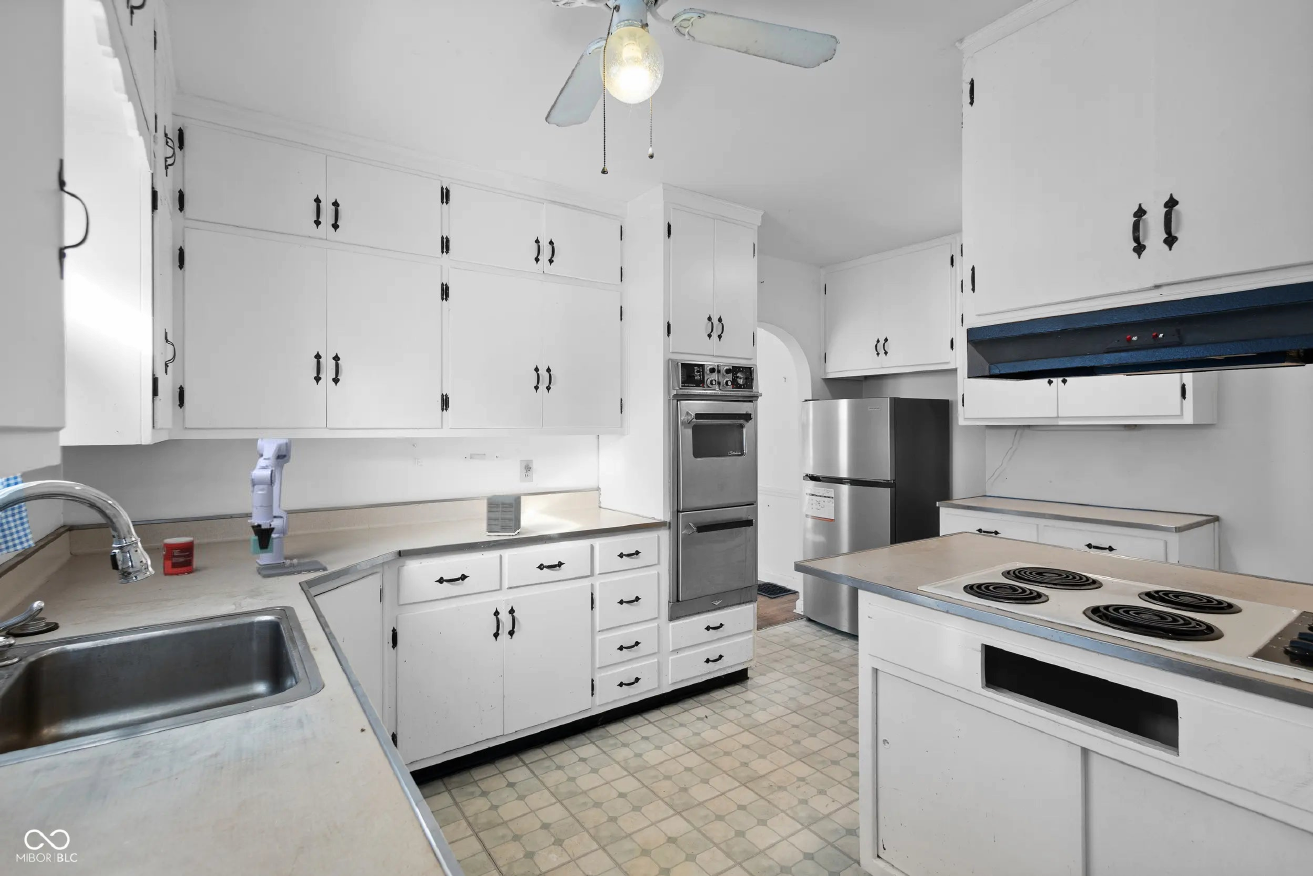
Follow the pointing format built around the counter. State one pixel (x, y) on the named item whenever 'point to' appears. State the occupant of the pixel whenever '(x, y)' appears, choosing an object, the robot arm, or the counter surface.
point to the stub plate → (290, 568)
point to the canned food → (178, 556)
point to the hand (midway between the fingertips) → (262, 547)
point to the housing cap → (255, 546)
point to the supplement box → (503, 513)
